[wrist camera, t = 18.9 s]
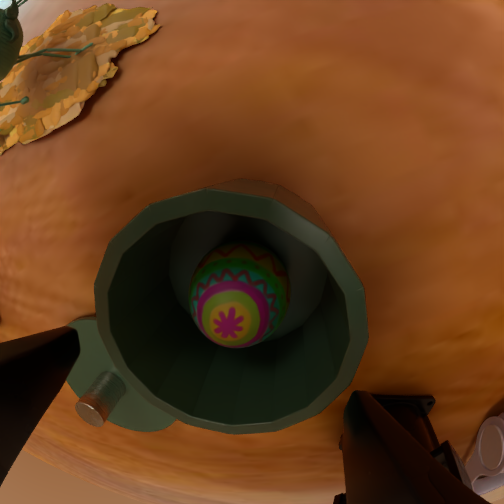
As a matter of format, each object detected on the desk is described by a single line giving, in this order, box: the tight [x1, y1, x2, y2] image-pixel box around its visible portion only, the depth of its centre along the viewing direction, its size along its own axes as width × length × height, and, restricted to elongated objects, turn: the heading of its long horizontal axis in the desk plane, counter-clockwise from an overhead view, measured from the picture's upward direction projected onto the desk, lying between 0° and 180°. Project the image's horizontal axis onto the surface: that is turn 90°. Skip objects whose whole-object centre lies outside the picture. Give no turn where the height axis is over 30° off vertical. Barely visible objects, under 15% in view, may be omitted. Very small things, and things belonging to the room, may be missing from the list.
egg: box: [189, 240, 291, 348], centre depth 14 cm, size 5×5×6 cm
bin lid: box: [66, 317, 176, 432], centre depth 19 cm, size 11×11×5 cm
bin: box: [94, 179, 369, 434], centre depth 14 cm, size 10×10×8 cm
